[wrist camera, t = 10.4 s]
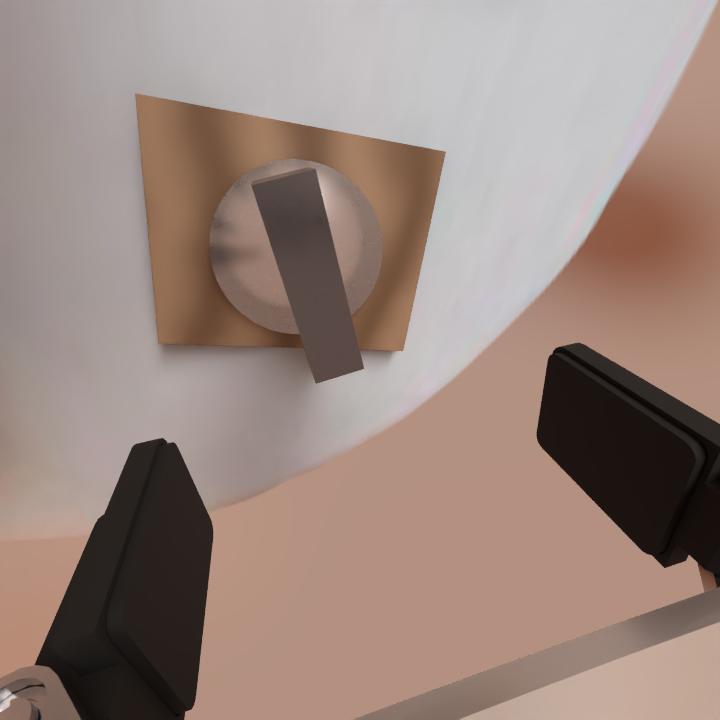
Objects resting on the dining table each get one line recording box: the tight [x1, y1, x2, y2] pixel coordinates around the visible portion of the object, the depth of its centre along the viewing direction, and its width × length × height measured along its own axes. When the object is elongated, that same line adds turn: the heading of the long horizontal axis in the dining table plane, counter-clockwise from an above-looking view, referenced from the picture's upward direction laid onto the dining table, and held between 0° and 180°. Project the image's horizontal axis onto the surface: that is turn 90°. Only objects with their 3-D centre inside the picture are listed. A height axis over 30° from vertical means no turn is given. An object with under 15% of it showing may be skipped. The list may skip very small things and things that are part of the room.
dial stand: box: [135, 94, 446, 351], centre depth 29 cm, size 20×16×2 cm
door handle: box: [209, 159, 383, 383], centre depth 25 cm, size 14×12×10 cm
